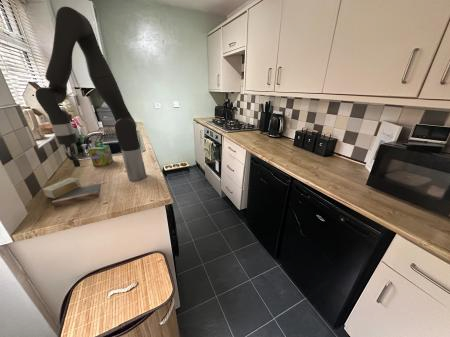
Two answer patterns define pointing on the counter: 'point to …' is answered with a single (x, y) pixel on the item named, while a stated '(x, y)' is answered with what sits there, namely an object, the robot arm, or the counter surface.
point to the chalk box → (100, 154)
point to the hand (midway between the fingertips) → (77, 166)
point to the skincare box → (61, 187)
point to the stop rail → (74, 199)
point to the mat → (81, 191)
